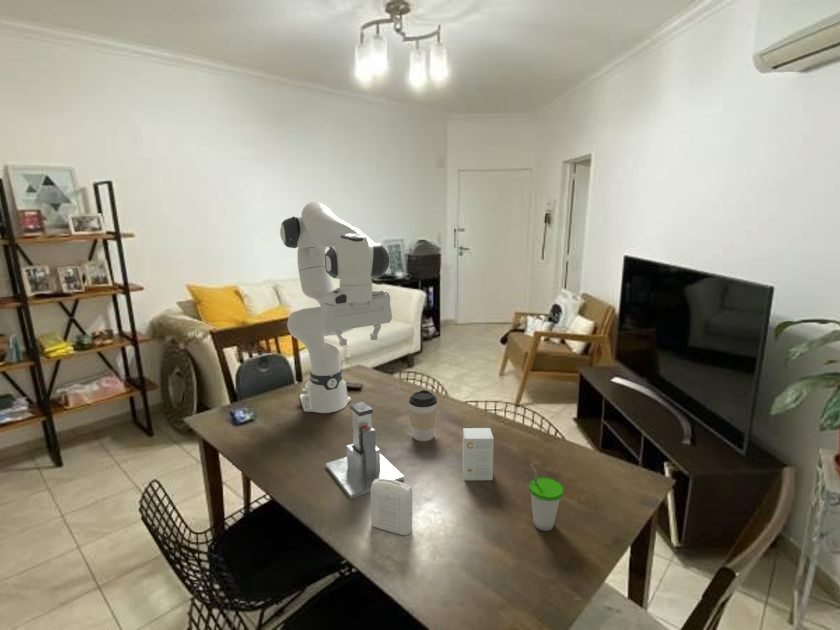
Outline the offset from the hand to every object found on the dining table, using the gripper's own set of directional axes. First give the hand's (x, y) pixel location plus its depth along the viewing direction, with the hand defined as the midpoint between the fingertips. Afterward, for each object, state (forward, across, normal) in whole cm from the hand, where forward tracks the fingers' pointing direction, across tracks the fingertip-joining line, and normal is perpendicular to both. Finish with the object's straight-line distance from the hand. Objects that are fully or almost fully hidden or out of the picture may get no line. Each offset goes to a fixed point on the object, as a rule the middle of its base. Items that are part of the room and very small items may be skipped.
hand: (359, 342), depth 127 cm
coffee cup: (+38, -24, -5) cm, 45 cm away
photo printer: (+39, +6, +28) cm, 48 cm away
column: (+36, +2, +4) cm, 36 cm away
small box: (+39, -24, +22) cm, 51 cm away
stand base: (+38, +2, +4) cm, 38 cm away
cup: (+40, -24, +47) cm, 66 cm away
